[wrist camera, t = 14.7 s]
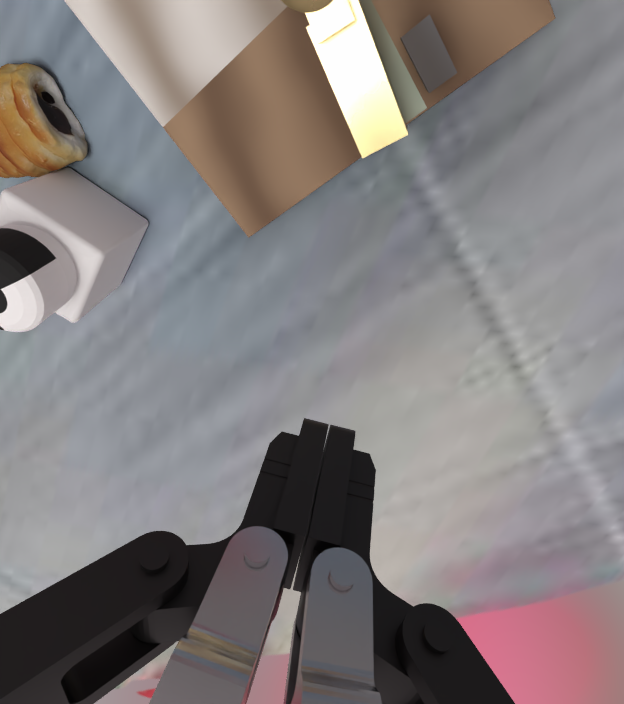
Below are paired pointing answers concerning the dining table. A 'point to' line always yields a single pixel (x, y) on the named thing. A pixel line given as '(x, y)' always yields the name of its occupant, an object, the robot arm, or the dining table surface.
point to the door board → (287, 81)
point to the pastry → (35, 124)
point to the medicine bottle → (61, 248)
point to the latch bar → (354, 71)
